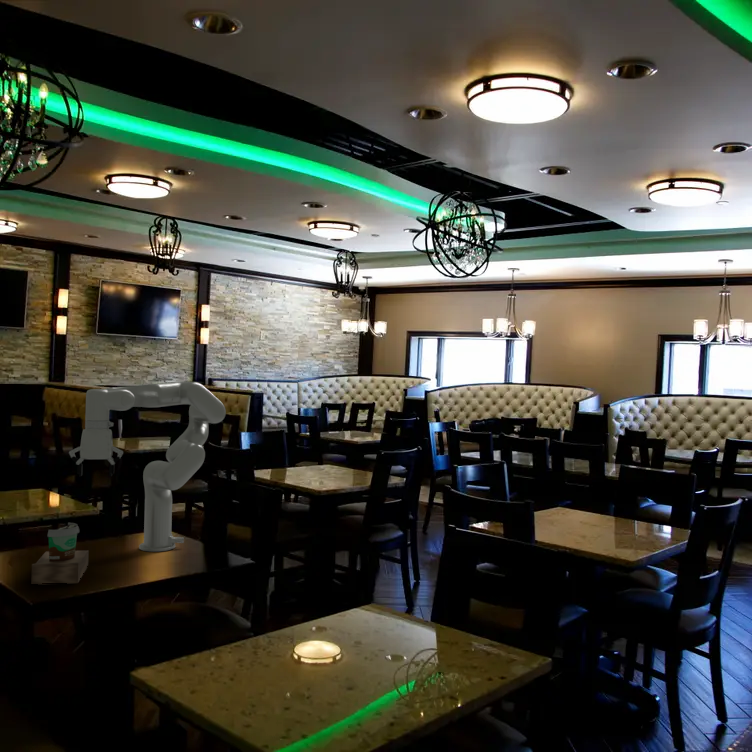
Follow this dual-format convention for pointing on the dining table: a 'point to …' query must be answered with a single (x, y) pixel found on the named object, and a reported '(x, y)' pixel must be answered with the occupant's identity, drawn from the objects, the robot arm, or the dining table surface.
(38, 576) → the brown rectangular block
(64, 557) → the food container
